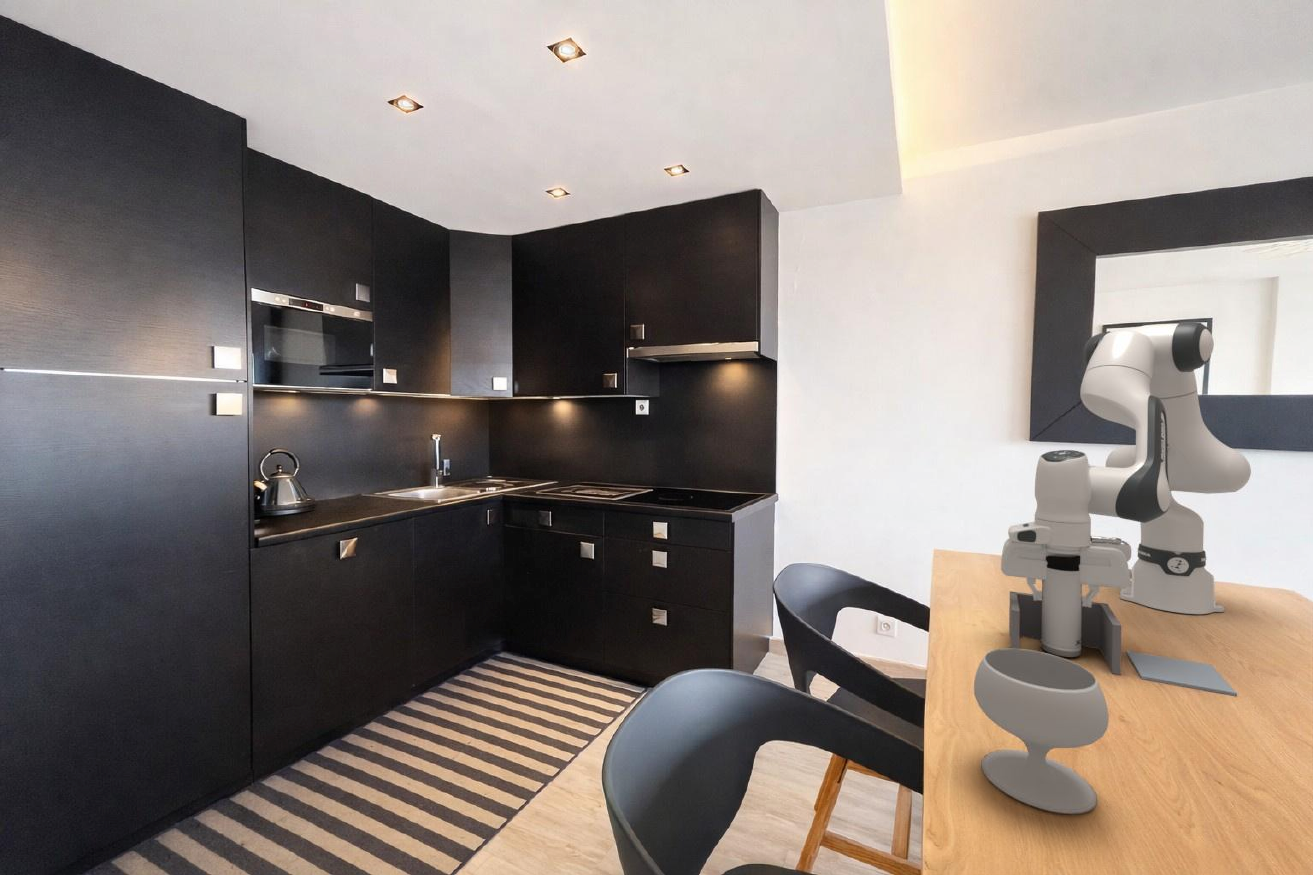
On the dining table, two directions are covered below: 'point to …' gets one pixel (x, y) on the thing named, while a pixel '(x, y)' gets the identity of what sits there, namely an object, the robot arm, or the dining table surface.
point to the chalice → (1040, 725)
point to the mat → (1180, 673)
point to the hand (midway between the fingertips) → (1061, 603)
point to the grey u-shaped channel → (1095, 627)
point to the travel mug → (1062, 606)
